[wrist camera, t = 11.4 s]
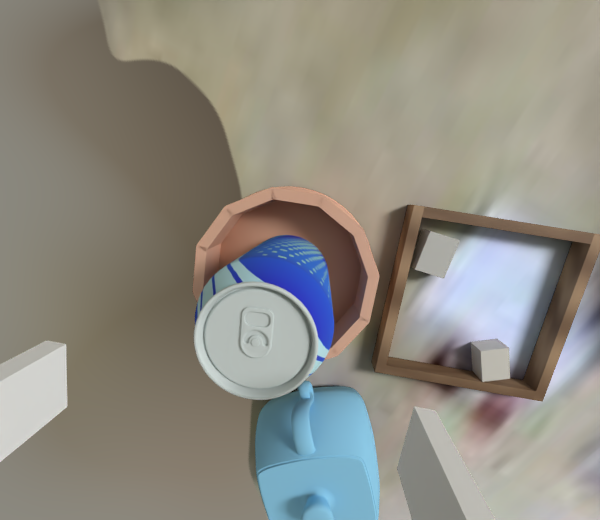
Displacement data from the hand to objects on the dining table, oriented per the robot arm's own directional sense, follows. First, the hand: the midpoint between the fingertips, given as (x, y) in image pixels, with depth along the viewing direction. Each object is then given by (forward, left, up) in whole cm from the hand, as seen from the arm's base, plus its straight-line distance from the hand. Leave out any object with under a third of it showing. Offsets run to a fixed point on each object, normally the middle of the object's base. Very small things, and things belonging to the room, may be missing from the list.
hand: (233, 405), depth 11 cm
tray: (0, +20, -21) cm, 29 cm away
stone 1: (-5, +14, -22) cm, 26 cm away
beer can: (0, 0, -21) cm, 21 cm away
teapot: (+19, +7, -22) cm, 30 cm away
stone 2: (+6, +23, -22) cm, 32 cm away
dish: (0, 0, -21) cm, 21 cm away
